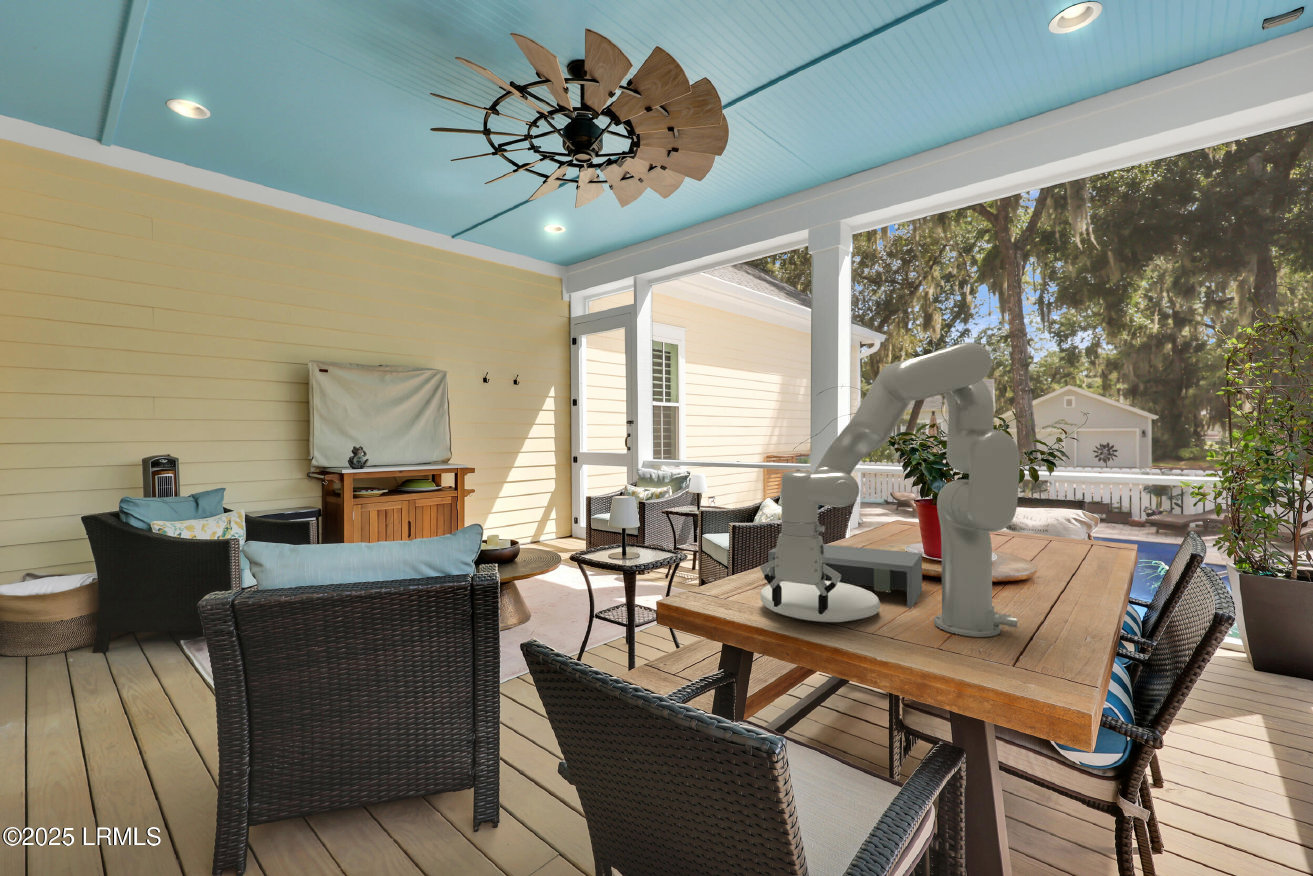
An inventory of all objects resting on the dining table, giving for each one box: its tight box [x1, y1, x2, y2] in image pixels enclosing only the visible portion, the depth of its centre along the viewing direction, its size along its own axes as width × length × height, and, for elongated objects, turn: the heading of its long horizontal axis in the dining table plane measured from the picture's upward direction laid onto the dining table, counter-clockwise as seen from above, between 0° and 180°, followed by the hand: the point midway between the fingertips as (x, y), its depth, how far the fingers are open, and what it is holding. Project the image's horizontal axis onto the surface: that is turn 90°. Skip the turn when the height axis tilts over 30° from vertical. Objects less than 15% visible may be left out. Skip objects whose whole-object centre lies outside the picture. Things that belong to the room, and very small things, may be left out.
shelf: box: [767, 543, 923, 608], centre depth 155 cm, size 36×16×10 cm, turn 58°
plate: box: [759, 581, 881, 623], centre depth 137 cm, size 28×6×27 cm
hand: (799, 608), depth 125 cm, fingers open, 9 cm apart
